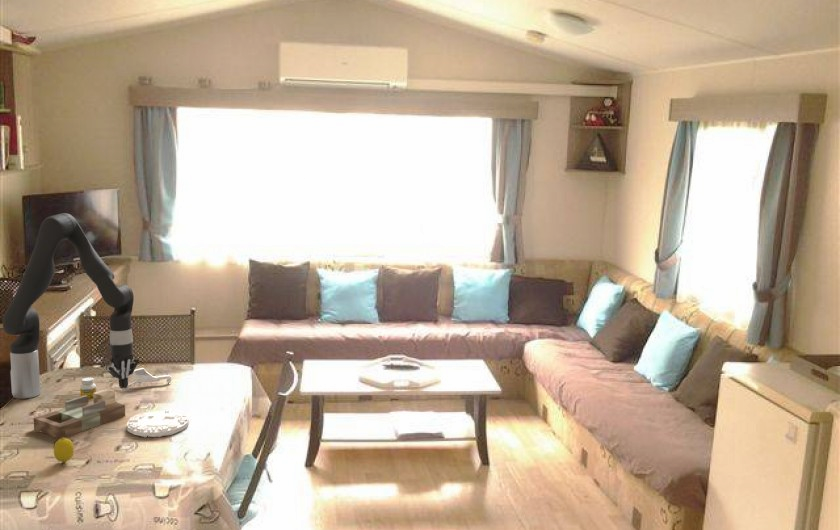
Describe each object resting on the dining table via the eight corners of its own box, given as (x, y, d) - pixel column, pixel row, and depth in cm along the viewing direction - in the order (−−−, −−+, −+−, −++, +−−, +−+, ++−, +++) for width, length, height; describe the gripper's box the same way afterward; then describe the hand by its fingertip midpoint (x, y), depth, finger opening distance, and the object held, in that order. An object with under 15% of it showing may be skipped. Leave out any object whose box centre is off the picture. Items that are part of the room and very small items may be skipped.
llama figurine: (130, 403, 293) (173, 382, 299) (117, 379, 289) (161, 358, 295) (129, 402, 295) (173, 380, 300) (116, 377, 291) (161, 356, 297)
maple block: (93, 403, 263) (93, 393, 263) (106, 399, 268) (105, 389, 267) (102, 406, 261) (102, 395, 260) (115, 402, 265) (114, 392, 264)
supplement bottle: (95, 400, 278) (94, 375, 276) (98, 405, 273) (97, 380, 272) (79, 403, 275) (78, 378, 273) (82, 407, 270) (81, 382, 269)
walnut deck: (34, 429, 250) (32, 409, 248) (99, 407, 271) (98, 389, 270) (60, 438, 243) (58, 418, 241) (125, 415, 264) (124, 396, 263)
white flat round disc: (200, 422, 262) (200, 414, 261) (163, 442, 243) (163, 434, 243) (152, 413, 268) (152, 405, 267) (113, 433, 249) (113, 424, 249)
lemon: (58, 458, 228) (57, 434, 227) (77, 458, 229) (76, 433, 227) (51, 466, 223) (49, 441, 221) (70, 466, 223) (69, 441, 222)
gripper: (130, 335, 275) (132, 381, 278) (98, 343, 264) (100, 390, 266) (143, 338, 271) (145, 384, 274) (112, 347, 260) (114, 394, 263)
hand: (123, 387), depth 270 cm, fingers closed
